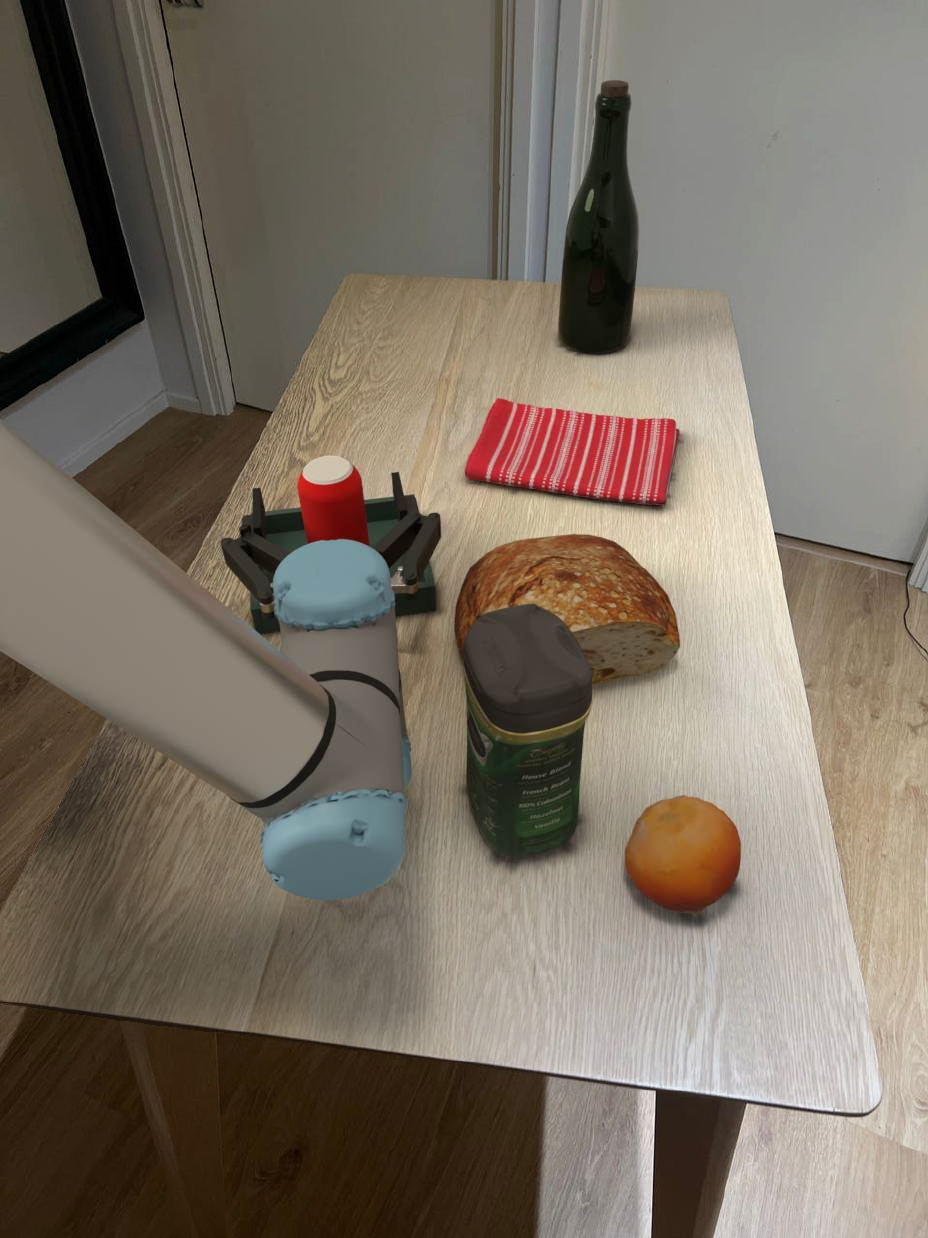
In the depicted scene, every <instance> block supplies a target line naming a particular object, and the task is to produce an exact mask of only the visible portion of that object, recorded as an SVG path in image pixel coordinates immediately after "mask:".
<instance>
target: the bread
mask: <svg viewBox="0 0 928 1238" xmlns="http://www.w3.org/2000/svg"><path fill="white" fill-rule="evenodd" d="M670 599H671V598H670V596H669V594H668V593H667V592H666V591H665V590H664V588H663V587H662V586H661V585H660V583H659V582H658V581H657V579H656V578H655V577H654V576H653V575H652V574H651V573H650V572H649V571H648V570H647V569H646V568H645V567H643V566H642V565H641V563H640V562H638V561H637V559H636V558H635V557H634V556H633V555H632V554H631V553H630V551H628V550H626V548H624V547H623V546H621V545H620V544H619V543H618V542H616V541H614V540H611V539H608V538H605V537H602V536H597V535H592V534H579V533H570V534H560V535H549V536H540V537H539V536H538V537H532V538H531V537H530V538H525V539H524V538H523V539H516V540H512V541H509V542H506V543H502V544H500V545H497V546H496V547H494V548H493V549H492V550H490V551H488V552H486V553H485V554H484V555H482V556H481V557H480V558H479V559H478V560H477V561H475V562H474V563H473V564H472V565H471V566H470V567H469V568H468V570H467V572H466V575H465V577H464V579H463V582H462V584H461V587H460V590H459V593H458V597H457V600H456V604H455V611H454V623H453V624H454V626H453V627H454V628H453V631H454V636H455V642H456V646H457V649H458V652H459V654H460V657H461V661H463V654H464V644H465V638H466V635H467V633H468V631H469V629H470V627H471V626H472V625H473V624H474V622H475V621H476V620H478V619H479V618H480V616H481V615H482V614H485V613H488V612H491V611H495V610H498V609H502V608H507V607H512V606H518V605H524V604H531V603H534V604H536V605H537V606H539V607H542V608H544V609H546V610H548V611H550V612H552V613H553V614H555V615H556V616H558V617H559V618H560V619H561V620H562V621H564V623H565V624H566V625H567V626H568V628H569V630H570V631H571V632H572V634H573V635H574V637H575V638H576V640H577V641H578V643H579V644H580V646H581V648H582V650H583V652H584V654H585V656H586V658H587V660H588V662H589V664H590V666H591V669H592V685H595V684H599V683H603V682H607V681H611V680H612V681H613V680H615V679H620V678H627V677H634V676H635V677H636V676H640V675H644V674H645V675H646V674H649V673H652V672H654V671H656V670H658V669H661V668H662V667H665V666H666V665H667V664H669V663H670V662H671V661H672V660H673V659H674V658H675V656H676V654H678V652H679V649H680V648H681V637H680V632H679V626H678V620H677V612H676V611H675V609H674V606H673V605H672V602H671V600H670Z"/></svg>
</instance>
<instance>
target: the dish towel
mask: <svg viewBox="0 0 928 1238" xmlns="http://www.w3.org/2000/svg"><path fill="white" fill-rule="evenodd" d="M491 405H492V406H490V409H489V411H488V413H487V416H486V417H485V420H484V423H483V426H482V429H481V433H480V434H479V436H478V438H477V440H476V442H475V444H474V446H473V448H472V450H471V452H470V454H469V455H468V457H467V460H466V464H465V467H464V476H465V478H467V479H468V480H472V481H482V482H487V483H493V484H498V485H504V486H508V487H517V488H525V489H530V490H537V491H541V492H549V493H555V494H563V495H570V496H575V497H581V498H582V497H583V498H588V499H589V498H590V499H595V500H601V501H602V500H603V501H613V502H618V503H629V504H639V505H646V506H648V505H649V506H651V505H652V506H664V505H665V504H666V503H667V496H668V493H669V486H670V482H671V477H672V472H673V468H674V464H675V458H676V454H677V450H678V449H677V448H678V443H679V436H680V429H679V428H677V426H678V425H677V422H676V419H675V418H674V419H673V418H666V417H665V418H652V417H651V418H637V417H624V416H618V415H607V414H597V413H588V412H584V411H581V412H579V411H577V410H571V409H570V410H569V409H568V410H567V409H561V408H558V407H557V408H556V407H540V406H537V405H533V404H527V403H519V402H517V401H510V400H509V399H505V398H500V397H497V398H496V399H495V401H494V402H493V403H492V404H491Z"/></svg>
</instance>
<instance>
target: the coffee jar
mask: <svg viewBox="0 0 928 1238" xmlns="http://www.w3.org/2000/svg"><path fill="white" fill-rule="evenodd" d="M462 666H463V679H464V686H465V687H464V688H465V699H466V701H465V702H466V760H465V761H466V763H465V765H466V766H465V767H466V769H465V770H466V771H465V780H466V781H465V783H466V792H467V797H468V801H469V805H470V808H471V810H472V811H471V812H472V813H473V816H474V820H475V821H476V824H477V826H478V829H479V830H480V832H481V834H482V836H483V837H484V839H485V841H486V842H487V844H488V845H489V847H490V848H491V849H493V851H495V852H496V853H497V854H499V855H502V856H504V857H508V858H515V859H517V858H518V859H519V858H520V859H521V858H528V857H529V858H530V857H534V856H539V855H542V854H546V853H548V852H551V851H554V850H557V849H558V848H560V847H562V846H564V845H566V844H567V843H568V842H570V840H571V839H572V838H573V837H574V835H575V833H576V831H577V829H578V821H579V812H580V796H581V776H582V763H583V762H582V761H583V750H584V739H585V737H584V736H585V728H586V727H585V726H586V721H587V719H588V718H589V715H590V712H591V709H592V705H593V684H592V669H591V666H590V664H589V662H588V660H587V658H586V656H585V654H584V652H583V650H582V648H581V646H580V644H579V643H578V641H577V640H576V638H575V637H574V635H573V634H572V632H571V631H570V630H569V628H568V626H567V625H566V624H565V623H564V621H562V620H561V619H560V618H559V617H558V616H556V615H555V614H553V613H552V612H550V611H548V610H546V609H544V608H542V607H539V606H537V605H536V604H534V603H531V604H524V605H518V606H512V607H507V608H502V609H498V610H495V611H491V612H488V613H485V614H482V615H481V616H480V618H479V619H478V620H476V621H475V622H474V624H473V625H472V626H471V627H470V629H469V631H468V633H467V635H466V638H465V644H464V654H463V660H462Z"/></svg>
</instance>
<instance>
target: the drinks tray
mask: <svg viewBox="0 0 928 1238" xmlns="http://www.w3.org/2000/svg"><path fill="white" fill-rule="evenodd" d="M411 495H413V496H414V497H415V498H416V495H415V494H414V493H411V494H404V496H411ZM364 502H365V511H366V519H367V527H368V536H369V544H370V547H371V548H373V547H374V546H375V545H376V544H377V543H378V542H379V541H380V540H381V539H382V538H383V537H384V536H385V535H386V534H387V533H388V532H389V531H390V530H391V529H392V528H393V527H394V526H395V525H397V524H398V523H399V521H398V516H397V511H396V506H395V501H394V496H386V497H377V498H368V499H364ZM252 514H253V512H251V513H250V515H252ZM265 528H266V540H267V541H269V542H271V543H273V544H274V545H276V546H278V547H280V548H281V549H283V550H285V551H287V552H288V553H290V554H291V553H292V552H293V551H295V550H296V549H298V548H300V547H302V546H304V545H307V539H306V533H305V528H304V522H303V516H302V511H301V506H300V507H292V508H284V509H275V510H273V509H272V510H265ZM410 548H411V547H410ZM410 548H409V549H410ZM409 549H408V550H407V551H406V552H405V553H404V554H403V555H402V556H401V557H400V558H399V559H398V560H397V561H396V562H395V563H394V564H393V565H392V566H391V567H390V568H389V572H390V578H392V577H393V576H394V575H395V573H396V572H397V571H398V570H397V568H398V567H400V566H402V567H403V562H404V559H405V557H406V555H407V553H408V551H409ZM430 561H431V560H430ZM430 561H429V563H428V564H427V566H426V568H425V570H424V572H423V574H422V576H421V578H420V580H419V582H418V595H419V596H418V598H417V599H415V600H408V599H406V598H405V593H398V594H396V595H395V617H401V616H408V615H409V616H410V615H415V614H422V613H431V612H437V597H436V596H437V594H436V593H437V592H436V584H435V579H434V575H433V570H432V567H431V562H430ZM256 565H257V564H256ZM257 566H258V567H259V568H260V569H261V570H262V571H263V573H264V574H265V575H266V576H267V577H268V579H269V582H270V584H271V583H273V578H274V574H272V573H270V572H269V571H267V570H265V569H264V568H262V567H260V566H259V565H257ZM249 593H250V594H249V595H250V596H249V598H250V599H249V601H250V603H249V608H250V609H249V610H250V614H251V618H252V622H253V626H254V630H255V631H257V632H258V633H259V634H260V635H263V634H264V635H265V634H269V633H270V634H271V633H279V632H281V631H280V624H279V621H278V618H277V617H276V616H275V617H274V618H273V619H265V618H264V617H263V615H262V611H261V607H260V603H259V602H258V600H257V599H256V598H255V597H254V596H253V595H252V594H251V592H250V591H249Z"/></svg>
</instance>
